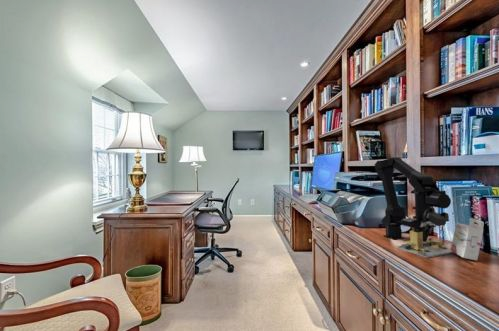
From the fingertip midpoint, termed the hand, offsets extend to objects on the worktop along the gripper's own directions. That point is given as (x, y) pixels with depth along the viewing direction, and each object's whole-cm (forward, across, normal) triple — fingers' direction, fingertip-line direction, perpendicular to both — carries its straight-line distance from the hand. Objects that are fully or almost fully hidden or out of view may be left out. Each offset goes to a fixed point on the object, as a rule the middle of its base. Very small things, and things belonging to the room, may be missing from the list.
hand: (424, 241), depth 106 cm
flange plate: (+3, +1, -1) cm, 4 cm away
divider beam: (+3, +1, 0) cm, 3 cm away
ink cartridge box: (+3, +5, -12) cm, 13 cm away
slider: (+2, -4, 0) cm, 5 cm away
